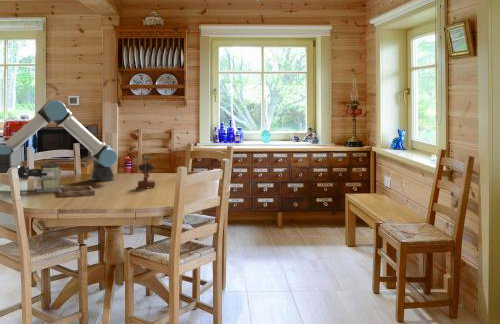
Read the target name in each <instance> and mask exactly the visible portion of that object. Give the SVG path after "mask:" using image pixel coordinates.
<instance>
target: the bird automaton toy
mask: <svg viewBox="0 0 500 324" xmlns="http://www.w3.org/2000/svg"><path fill="white" fill-rule="evenodd" d="M142 161H143V163H140V164H138V170H139V171H140V172H141V171H142V174H143V179H141V180H138V181H137V188H138V187H141V188H140V189H148V188H147V187H154V186H155V187H156V181H155V180H153V179H148V178H149V177H150V174H149V172H150V171H154V168H155V165H154V163H149V161H150V156H149V155H148V154H146V155H144V157H143V158H142ZM155 187H154V188H155Z"/></svg>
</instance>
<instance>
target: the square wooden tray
mask: <svg viewBox="0 0 500 324" xmlns="http://www.w3.org/2000/svg"><path fill="white" fill-rule="evenodd" d="M57 193H58V195H59V196H60V198H66V197H67V198H68V197H69V198H70V197H82V196H95V195H96V191H95V189H94V188H93V187H92V186H91V185H82V186H81V185H78V186H65V187H58V192H57Z"/></svg>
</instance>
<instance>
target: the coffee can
mask: <svg viewBox="0 0 500 324" xmlns="http://www.w3.org/2000/svg"><path fill="white" fill-rule="evenodd" d="M40 169H41V173H42V172H53V177H42V176H41V178H40V180H41V187H42V190H56V189H58V187H60V186H61V180H60V178H61V177H60V175H61V174H59V169H60V163H43V164H40Z"/></svg>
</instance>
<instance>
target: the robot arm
mask: <svg viewBox="0 0 500 324" xmlns="http://www.w3.org/2000/svg"><path fill="white" fill-rule="evenodd" d="M51 122H53V123H54V124H55V125H57V126H58V127H63V128H64V129H65V130H66V131H67V132H68V133H69V134H70V135H71V136H72V137H73V138H75V139H76V140H77V141H78V142H79V143H80V144H81V145H83V147H84V148H86V149H87V150H88V151H89V152H90V155H91V156H90V157H92V171H91V174H90V181H92V182H93V181H94V182H107V181H108V182H110V181H113V180H115V175H114V172H113V169H112V167H113V166H114V165H115V164H116V163H117V161H118V153H117V152H116V150H114V149H113V148H111V147H112V146H111V144H107V143H106V142H104V141H103V142H101V141H100V140H99V139H98V138H97V137H95V136H94V135H93V134H92V133H91V132H90V131H89V130H88V129H87V128H86V127H85V126H84V125H82V124H81V123H80V122H79V121H78V120H77V119H76V118H75V117H74V116H73V112H72V111H71V110H70V109H69V108H67V106H66V105H65V104H64V102H63V101H60V100H58V99H56V100H55V99H54V100H49V101H46V102H45V103H44V104H43V105H42V107H41V108H40V109H39V110H38V111H36V115H35V116H34V117H32V118H31V119H30V120H29V121H28V122H27V123H26V124H24V125H23V126H22V127H21V128H20V129H19V130H18V131H17V132H15V133H14V134H13V135H12V136H11V137H10V138H8V139H7V140H6V141H5V142H4V143H3V144H1V145H0V173H7V171H8V169H9V168H11V167H16V168H17V169H18V175H19V179H24V180H27V179H28V178H29V177H33V178H34V177H35V178H39V179H41V176H42V177H53V172H42V173H41V168H29V166H28V165H12V154H13V153H14V152H16V151H17V150H18V148H20V147H21V146H22V145H23V144H25V143H26V142H27V141H28V140H29V139H31V138H32V137H33V136H34V135H36V133H37V132H38V131H39V130H40V129H42V128H43V127H44V126H45V125H49V124H50V123H51ZM59 174H60V175H62V174H63V171H62V169H60V168H59ZM19 179H18V180H19Z"/></svg>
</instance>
